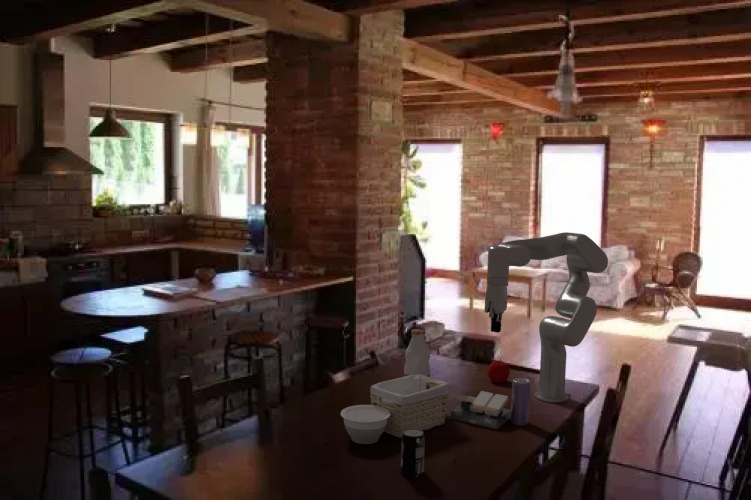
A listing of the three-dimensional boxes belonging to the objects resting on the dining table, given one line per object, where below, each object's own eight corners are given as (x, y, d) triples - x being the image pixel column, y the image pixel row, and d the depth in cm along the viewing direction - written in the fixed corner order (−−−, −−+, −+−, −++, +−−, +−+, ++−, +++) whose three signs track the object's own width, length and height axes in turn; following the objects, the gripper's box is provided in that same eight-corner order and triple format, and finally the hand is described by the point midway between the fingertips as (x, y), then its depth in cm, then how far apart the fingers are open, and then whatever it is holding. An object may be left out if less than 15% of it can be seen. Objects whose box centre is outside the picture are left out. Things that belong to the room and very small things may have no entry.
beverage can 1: (399, 468, 198) (400, 427, 196) (421, 467, 198) (423, 427, 197) (402, 478, 191) (403, 436, 190) (425, 477, 192) (426, 436, 190)
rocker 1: (466, 400, 247) (467, 395, 247) (478, 402, 244) (479, 397, 245) (455, 399, 239) (456, 393, 239) (467, 401, 236) (467, 396, 236)
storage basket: (416, 412, 245) (417, 371, 243) (451, 424, 233) (452, 382, 232) (367, 427, 229) (367, 384, 227) (401, 442, 217) (402, 397, 216)
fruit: (511, 385, 278) (512, 361, 277) (488, 384, 278) (489, 360, 277) (507, 378, 287) (508, 355, 286) (485, 378, 287) (486, 354, 286)
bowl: (396, 433, 224) (396, 408, 223) (380, 451, 209) (381, 424, 208) (350, 426, 229) (351, 402, 228) (332, 444, 214) (332, 417, 213)
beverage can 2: (528, 426, 232) (530, 383, 231) (510, 424, 234) (512, 382, 232) (528, 420, 238) (530, 378, 237) (510, 418, 239) (512, 377, 238)
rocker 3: (496, 397, 241) (495, 393, 240) (508, 400, 239) (507, 395, 238) (484, 413, 233) (484, 409, 233) (496, 416, 231) (496, 412, 230)
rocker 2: (481, 394, 244) (481, 390, 243) (493, 397, 242) (493, 392, 241) (470, 410, 236) (469, 406, 236) (482, 413, 234) (481, 408, 233)
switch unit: (467, 408, 249) (467, 396, 249) (511, 418, 240) (511, 405, 240) (450, 418, 238) (450, 406, 238) (495, 429, 229) (496, 416, 229)
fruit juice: (422, 399, 259) (424, 326, 255) (433, 407, 250) (435, 332, 247) (399, 402, 255) (401, 328, 252) (410, 410, 246) (412, 334, 243)
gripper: (496, 277, 251) (494, 326, 253) (479, 282, 238) (477, 334, 240) (515, 279, 247) (513, 329, 249) (499, 284, 234) (497, 337, 236)
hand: (495, 331), depth 244 cm, fingers closed
